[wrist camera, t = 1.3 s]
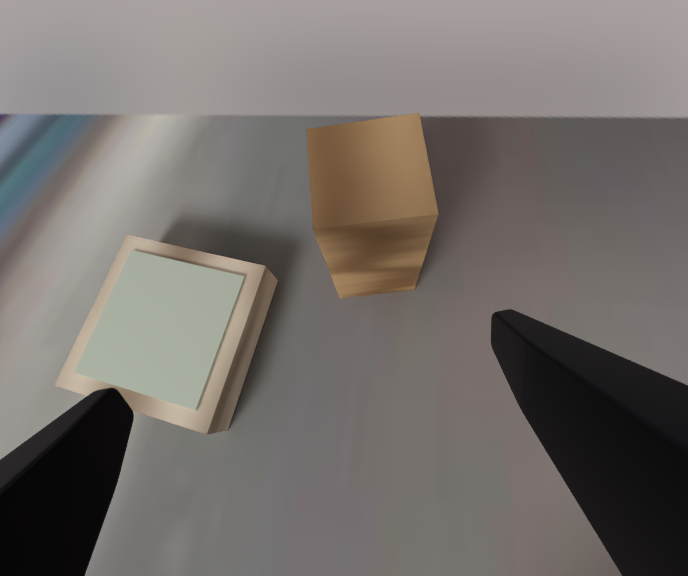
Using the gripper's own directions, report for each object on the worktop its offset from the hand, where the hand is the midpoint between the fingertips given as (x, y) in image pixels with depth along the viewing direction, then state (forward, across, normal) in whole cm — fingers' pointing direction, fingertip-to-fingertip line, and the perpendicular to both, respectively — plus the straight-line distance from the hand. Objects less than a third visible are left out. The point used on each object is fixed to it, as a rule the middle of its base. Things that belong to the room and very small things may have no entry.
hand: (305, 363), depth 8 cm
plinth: (+14, +10, +7) cm, 18 cm away
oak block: (+15, -3, +5) cm, 17 cm away
